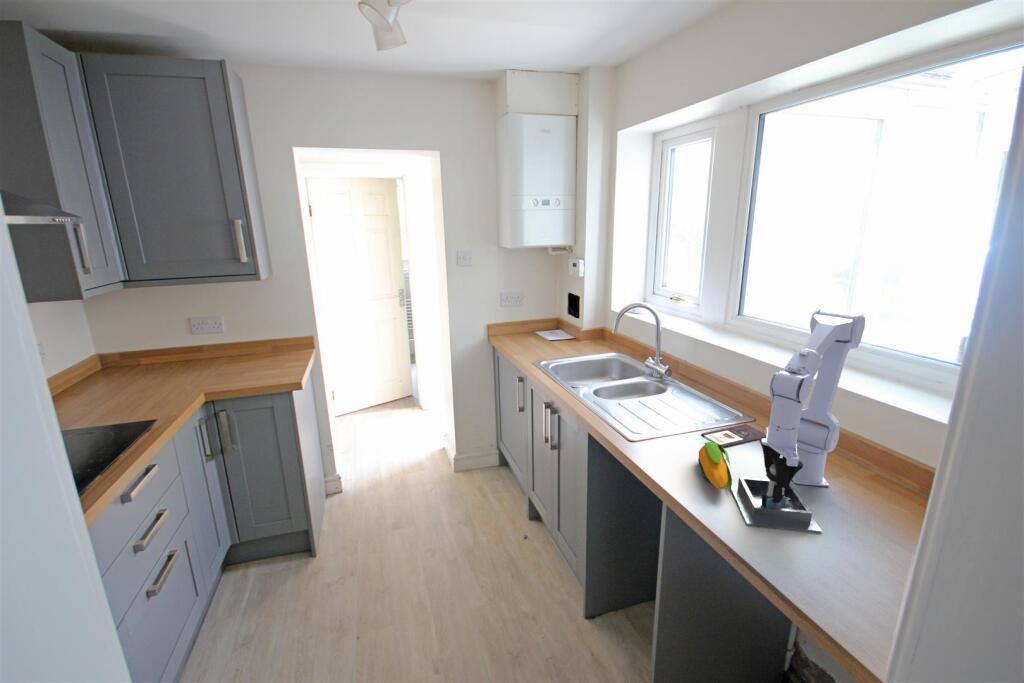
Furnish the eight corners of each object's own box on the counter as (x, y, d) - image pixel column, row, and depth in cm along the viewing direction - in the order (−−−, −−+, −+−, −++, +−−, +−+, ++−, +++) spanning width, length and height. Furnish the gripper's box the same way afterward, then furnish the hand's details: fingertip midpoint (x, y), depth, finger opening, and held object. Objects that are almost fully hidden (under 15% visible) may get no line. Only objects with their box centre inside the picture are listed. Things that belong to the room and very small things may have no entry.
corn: (724, 435, 126) (741, 473, 107) (723, 459, 128) (739, 502, 109) (695, 434, 128) (707, 472, 109) (695, 458, 130) (706, 500, 111)
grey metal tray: (728, 484, 116) (730, 472, 115) (792, 490, 113) (794, 477, 113) (746, 525, 101) (748, 511, 100) (821, 533, 98) (824, 519, 97)
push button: (780, 497, 110) (786, 460, 107) (797, 510, 105) (804, 472, 102) (755, 500, 109) (761, 463, 106) (771, 514, 104) (777, 475, 101)
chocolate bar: (769, 436, 140) (723, 446, 134) (768, 438, 140) (722, 449, 134) (745, 424, 148) (701, 433, 142) (745, 426, 148) (701, 436, 143)
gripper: (754, 409, 109) (747, 459, 113) (776, 438, 95) (767, 494, 99) (786, 411, 108) (779, 462, 112) (813, 440, 94) (803, 497, 98)
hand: (775, 477), depth 105 cm, fingers open, 7 cm apart
